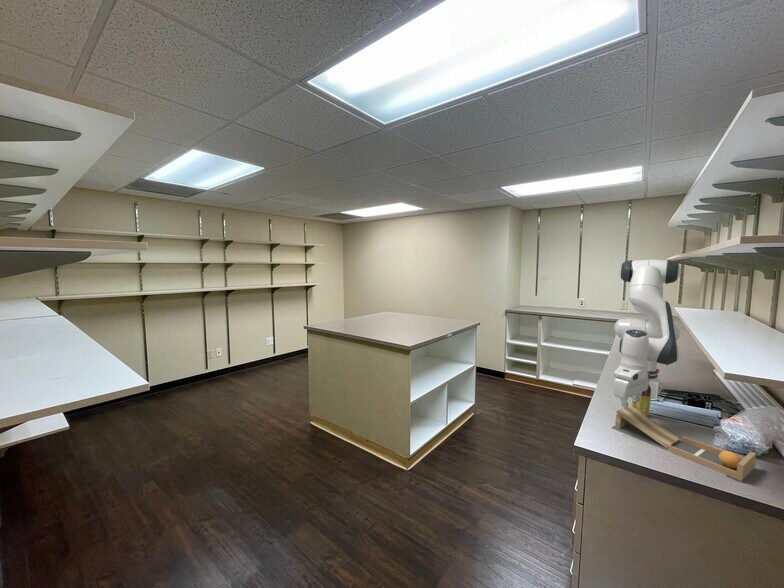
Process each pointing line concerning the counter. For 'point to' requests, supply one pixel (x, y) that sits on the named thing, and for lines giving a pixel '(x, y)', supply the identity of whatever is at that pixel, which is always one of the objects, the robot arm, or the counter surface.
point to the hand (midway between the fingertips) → (630, 404)
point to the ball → (729, 459)
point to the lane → (699, 454)
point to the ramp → (645, 425)
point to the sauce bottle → (643, 401)
